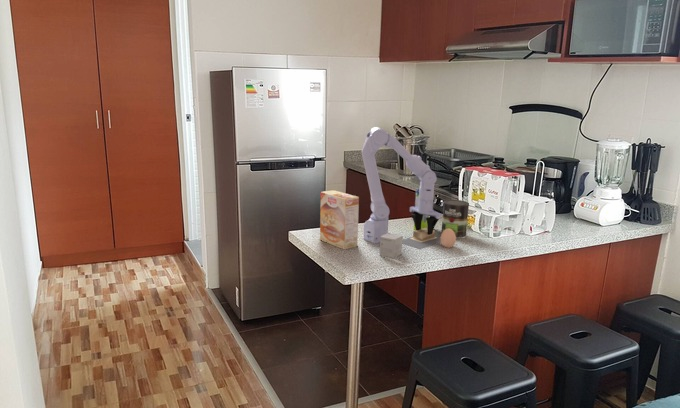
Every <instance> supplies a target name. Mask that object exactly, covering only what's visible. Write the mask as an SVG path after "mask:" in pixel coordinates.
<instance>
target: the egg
mask: <svg viewBox="0 0 680 408" xmlns="http://www.w3.org/2000/svg"><path fill="white" fill-rule="evenodd" d="M439 238H440V240H441V243H440V244H441V245H442V246H443V247H444V248H452V247H454V245H455V244H456V241H457V238H456V236H455V233H454V231H453V230H452V229H449V228H448V229H445V230H444V231H443V232H442V234H441V233H440V237H439Z"/></svg>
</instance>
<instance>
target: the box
mask: <svg viewBox="0 0 680 408" xmlns="http://www.w3.org/2000/svg"><path fill="white" fill-rule="evenodd" d="M414 199H415V201H414V207H418V204H419V189H417V190H415V198H414ZM428 217H430V216H427V215H423V218H422V222H421V229H424V228H428V226H427V220H426V218H428ZM413 231H416V228H415V224H414V223H413Z"/></svg>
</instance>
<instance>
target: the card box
mask: <svg viewBox="0 0 680 408" xmlns="http://www.w3.org/2000/svg"><path fill="white" fill-rule="evenodd" d="M427 228H428V227H427ZM427 228H424V229H420V230H413V232H412V233H413V234H412V237H413V239H416V240H419V241H424V240H428V239H431V238H435V236H436V230H435V229H434V230H433V233H432V234H431V235H428V234H427Z"/></svg>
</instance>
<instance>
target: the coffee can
mask: <svg viewBox="0 0 680 408" xmlns="http://www.w3.org/2000/svg"><path fill="white" fill-rule="evenodd" d="M442 203H443V204H442V205H443V208H442V209H443V210H442V217H441V219H442V220H441V221H442V222H441V230H440V231H441V233H440V235H441V234H442V232H443V231H444V230H445V229H448V228H449V229H452V230H453V231H454V233H455V236H456V239H466V238H467V229H468V228H467V227H468V218H469V209H470V207H469V206H470V203H469V202H468V201H465V200H461V199H445V200H444V201H443V202H442Z"/></svg>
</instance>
